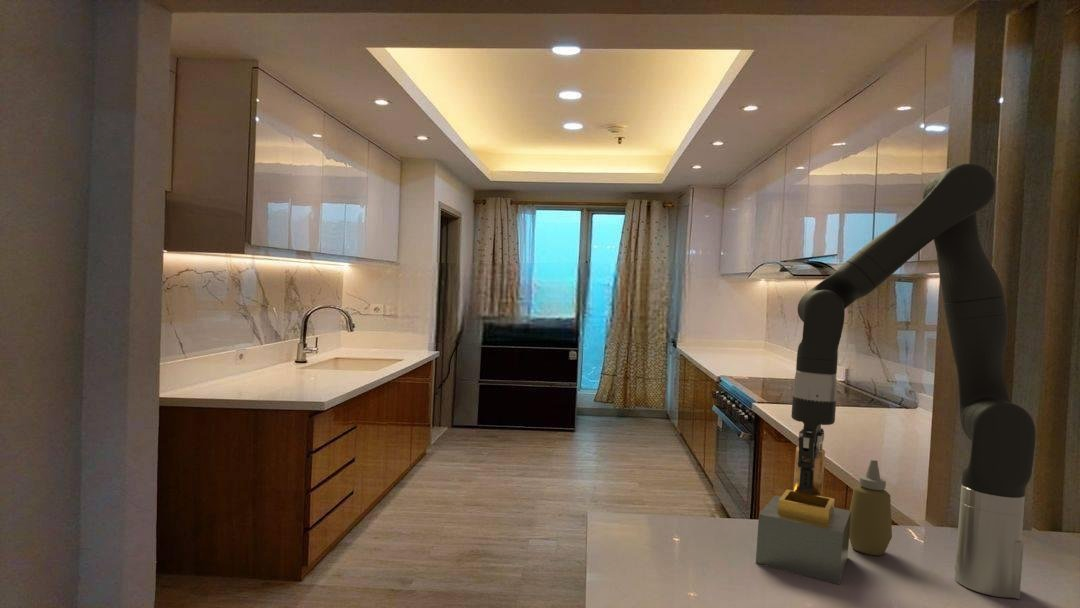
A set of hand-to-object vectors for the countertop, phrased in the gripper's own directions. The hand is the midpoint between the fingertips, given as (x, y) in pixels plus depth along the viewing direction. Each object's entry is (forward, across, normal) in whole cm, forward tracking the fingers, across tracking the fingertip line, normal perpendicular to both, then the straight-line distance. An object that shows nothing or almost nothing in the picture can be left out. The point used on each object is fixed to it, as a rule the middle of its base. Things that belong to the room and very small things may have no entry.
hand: (808, 486), depth 120 cm
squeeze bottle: (+14, +14, -10) cm, 23 cm away
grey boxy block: (+14, 0, 0) cm, 14 cm away
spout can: (+1, 0, 0) cm, 1 cm away
